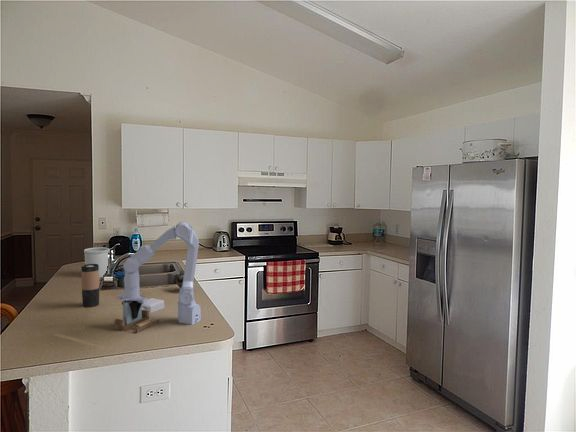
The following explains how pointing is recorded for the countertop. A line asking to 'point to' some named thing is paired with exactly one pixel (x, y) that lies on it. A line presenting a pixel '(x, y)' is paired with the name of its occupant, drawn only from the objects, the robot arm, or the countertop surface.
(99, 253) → the utensil holder
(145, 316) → the tray
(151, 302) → the charger
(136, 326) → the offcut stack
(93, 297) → the travel mug
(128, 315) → the board
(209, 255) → the countertop surface
